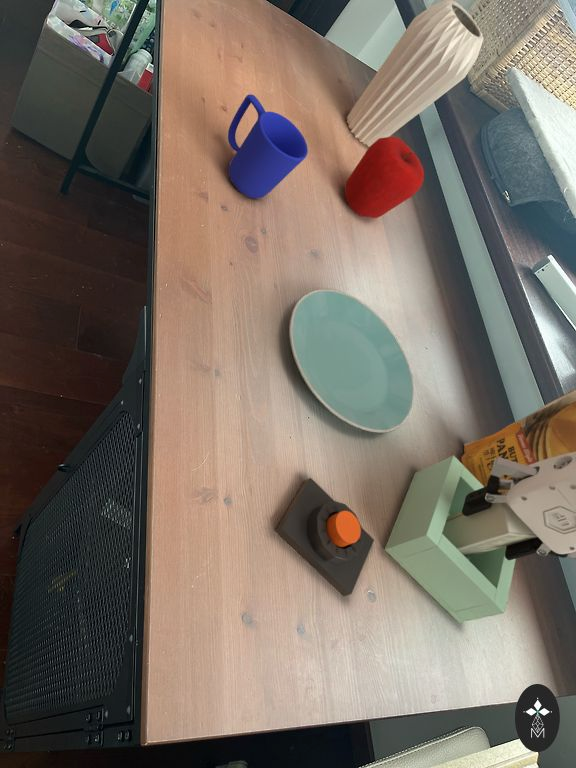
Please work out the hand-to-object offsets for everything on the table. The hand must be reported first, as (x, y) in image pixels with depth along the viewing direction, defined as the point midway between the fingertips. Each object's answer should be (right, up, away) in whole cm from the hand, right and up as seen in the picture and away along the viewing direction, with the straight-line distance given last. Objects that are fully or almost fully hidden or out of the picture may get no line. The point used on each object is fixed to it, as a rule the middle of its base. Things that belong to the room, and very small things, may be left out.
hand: (487, 527), depth 76 cm
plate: (-17, +20, +11) cm, 28 cm away
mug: (-32, +49, +16) cm, 61 cm away
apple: (-12, +49, +33) cm, 60 cm away
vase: (-10, +67, +46) cm, 82 cm away
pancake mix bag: (+4, +1, +17) cm, 17 cm away
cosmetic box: (-4, -3, +5) cm, 7 cm away
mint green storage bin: (-5, -4, +6) cm, 8 cm away
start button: (-19, +1, -7) cm, 20 cm away
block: (-20, 0, -5) cm, 21 cm away
